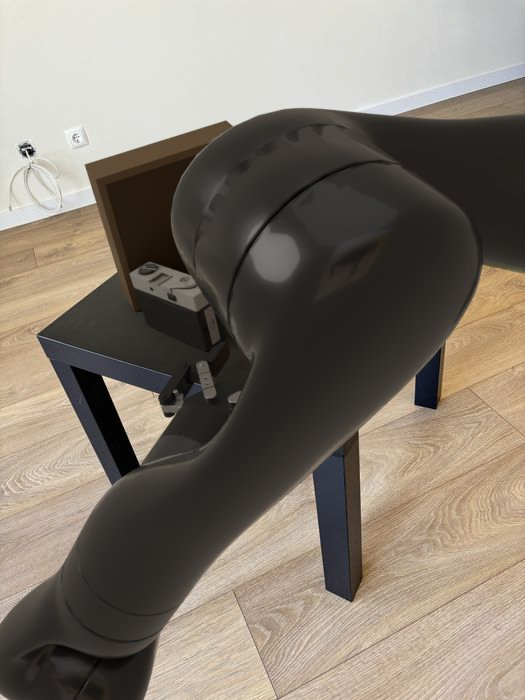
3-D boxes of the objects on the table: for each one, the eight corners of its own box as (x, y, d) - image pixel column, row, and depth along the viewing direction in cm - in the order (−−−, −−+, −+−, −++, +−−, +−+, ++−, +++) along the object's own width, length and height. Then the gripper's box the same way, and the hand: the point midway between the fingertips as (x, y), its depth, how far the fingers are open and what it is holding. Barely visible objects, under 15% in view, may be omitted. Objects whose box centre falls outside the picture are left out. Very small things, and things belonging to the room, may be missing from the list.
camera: (244, 324, 81) (232, 267, 74) (206, 354, 76) (190, 295, 70) (182, 300, 89) (167, 246, 82) (144, 326, 84) (125, 271, 78)
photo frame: (126, 301, 91) (74, 155, 75) (237, 256, 98) (209, 114, 82) (158, 342, 80) (104, 181, 65) (279, 288, 87) (256, 131, 72)
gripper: (258, 457, 41) (321, 333, 53) (111, 423, 47) (196, 317, 58) (271, 513, 46) (325, 389, 57) (135, 476, 51) (210, 369, 63)
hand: (260, 353), depth 58 cm, fingers open, 8 cm apart
